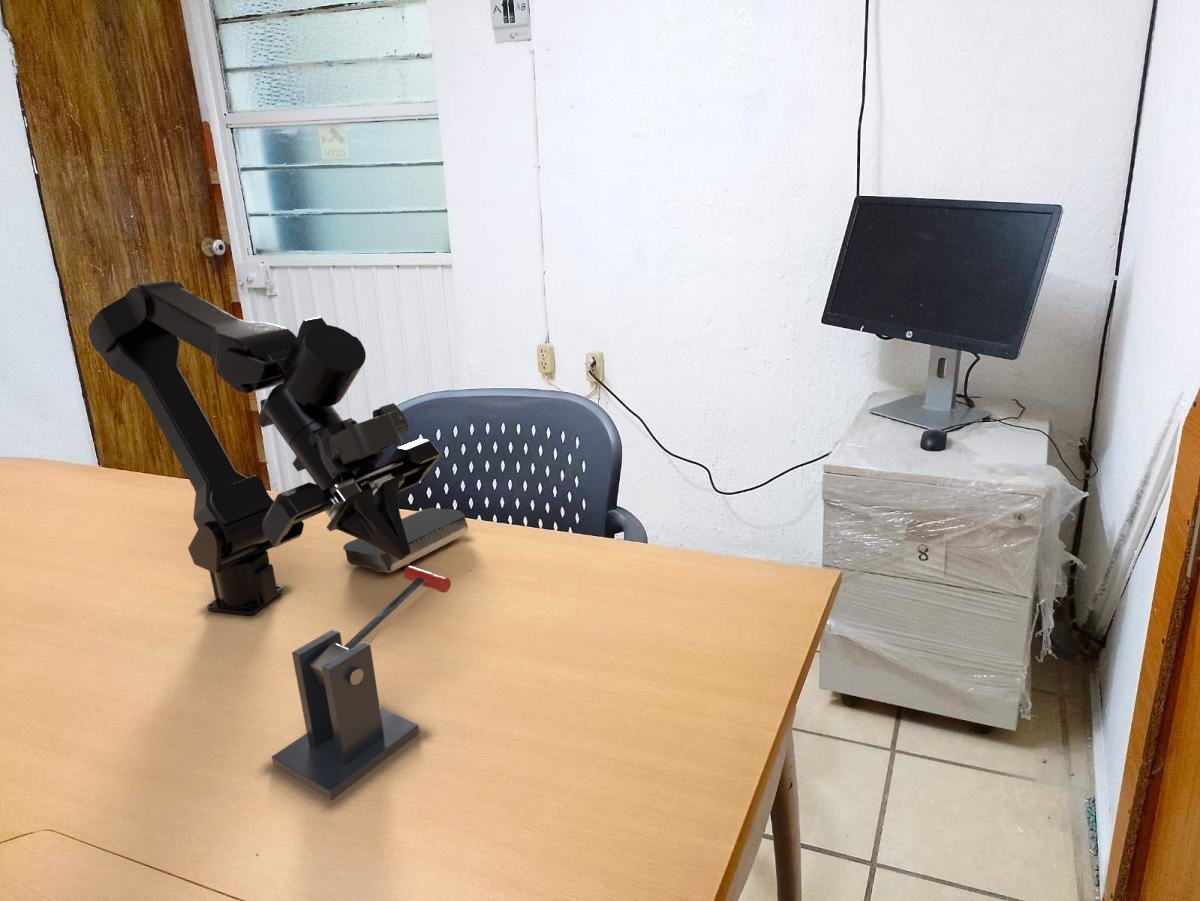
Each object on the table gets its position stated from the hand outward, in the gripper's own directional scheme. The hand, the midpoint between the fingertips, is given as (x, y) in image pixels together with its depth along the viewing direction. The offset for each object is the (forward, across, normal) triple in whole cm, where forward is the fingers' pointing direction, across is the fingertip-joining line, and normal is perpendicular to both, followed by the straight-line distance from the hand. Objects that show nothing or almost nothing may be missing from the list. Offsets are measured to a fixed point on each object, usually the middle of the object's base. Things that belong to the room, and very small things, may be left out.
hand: (406, 556), depth 81 cm
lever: (+5, -6, +1) cm, 8 cm away
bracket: (+12, -12, +8) cm, 18 cm away
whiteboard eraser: (-6, +20, +26) cm, 33 cm away
